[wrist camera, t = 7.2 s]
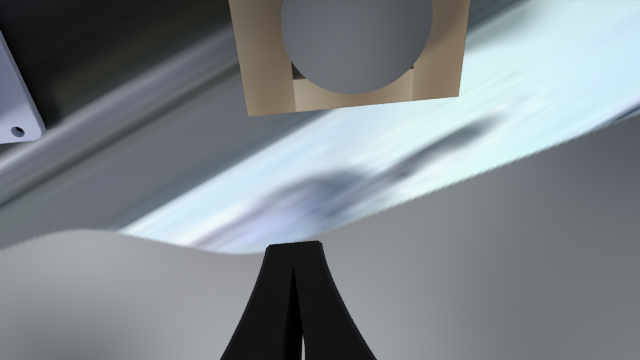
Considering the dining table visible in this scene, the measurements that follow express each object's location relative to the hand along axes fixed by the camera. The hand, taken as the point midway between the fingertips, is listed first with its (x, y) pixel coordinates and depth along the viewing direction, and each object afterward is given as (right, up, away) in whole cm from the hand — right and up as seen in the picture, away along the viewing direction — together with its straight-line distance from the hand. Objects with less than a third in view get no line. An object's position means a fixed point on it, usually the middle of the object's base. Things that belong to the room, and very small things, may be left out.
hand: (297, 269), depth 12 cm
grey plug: (+1, +9, +6) cm, 11 cm away
